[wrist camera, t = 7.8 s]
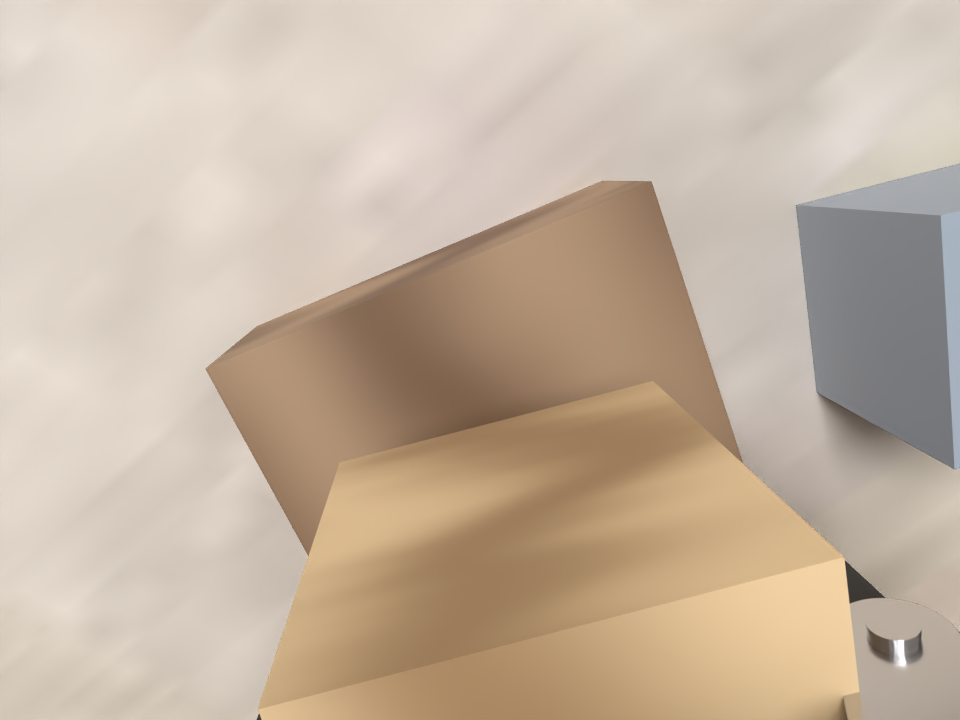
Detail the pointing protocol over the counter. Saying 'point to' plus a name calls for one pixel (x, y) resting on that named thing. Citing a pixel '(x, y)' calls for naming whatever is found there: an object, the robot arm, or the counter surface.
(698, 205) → the counter surface
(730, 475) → the oak block
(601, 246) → the base block
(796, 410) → the counter surface
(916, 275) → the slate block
